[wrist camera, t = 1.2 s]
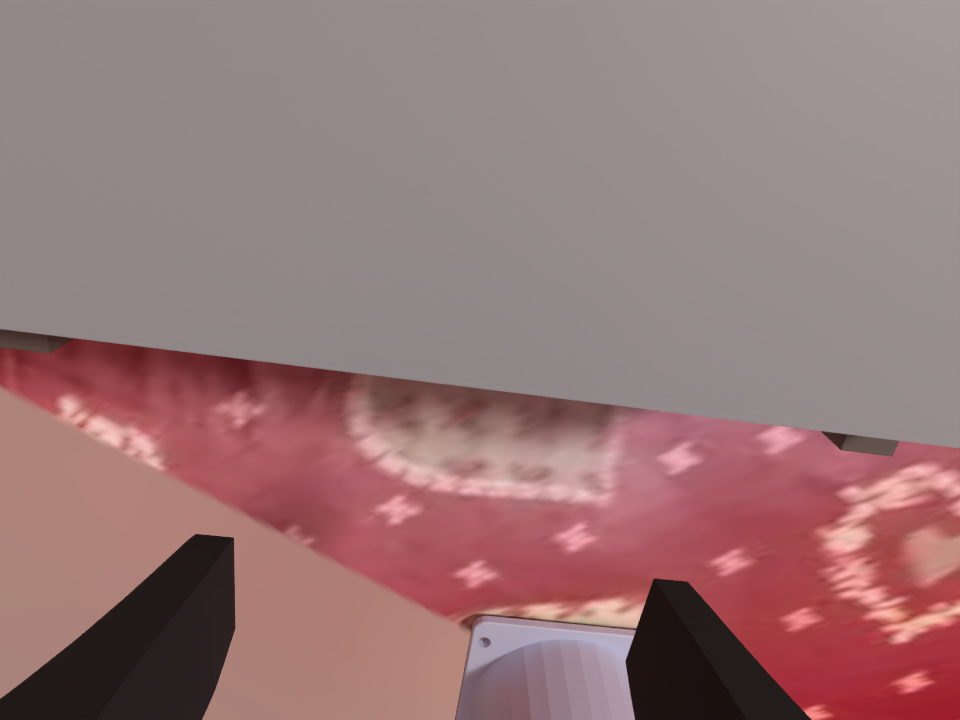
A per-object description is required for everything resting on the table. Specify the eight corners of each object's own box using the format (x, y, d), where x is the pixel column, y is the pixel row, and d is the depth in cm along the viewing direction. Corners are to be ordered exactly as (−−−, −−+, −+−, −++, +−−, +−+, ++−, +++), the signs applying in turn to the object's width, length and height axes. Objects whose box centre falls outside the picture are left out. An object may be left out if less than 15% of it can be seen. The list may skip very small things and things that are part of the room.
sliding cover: (917, 418, 13) (959, 448, 12) (-29, 297, 12) (-81, 318, 11) (1277, -348, 9) (1396, -413, 7) (-201, -694, 7) (-325, -840, 6)
